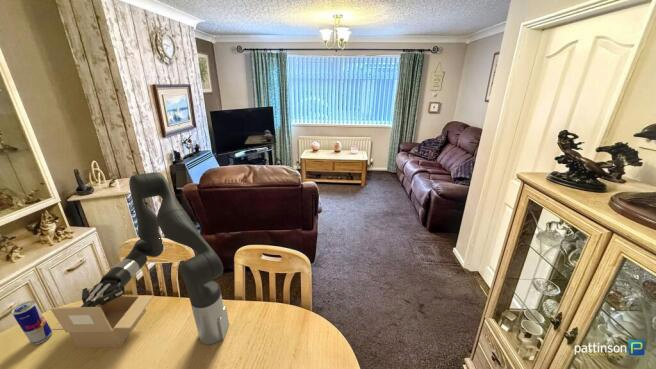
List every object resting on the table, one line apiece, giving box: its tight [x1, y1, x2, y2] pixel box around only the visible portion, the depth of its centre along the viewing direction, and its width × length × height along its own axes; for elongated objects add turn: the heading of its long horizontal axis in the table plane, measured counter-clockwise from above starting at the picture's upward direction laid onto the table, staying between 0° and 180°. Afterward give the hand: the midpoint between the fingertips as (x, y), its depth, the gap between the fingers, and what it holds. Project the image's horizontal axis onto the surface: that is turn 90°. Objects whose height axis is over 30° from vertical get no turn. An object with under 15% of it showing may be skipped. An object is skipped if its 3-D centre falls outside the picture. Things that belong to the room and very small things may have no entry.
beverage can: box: [11, 300, 53, 345], centre depth 83 cm, size 5×5×15 cm
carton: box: [52, 294, 155, 348], centre depth 88 cm, size 24×14×8 cm, turn 93°
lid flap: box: [50, 306, 113, 333], centre depth 78 cm, size 14×11×1 cm
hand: (80, 314), depth 77 cm, fingers closed
